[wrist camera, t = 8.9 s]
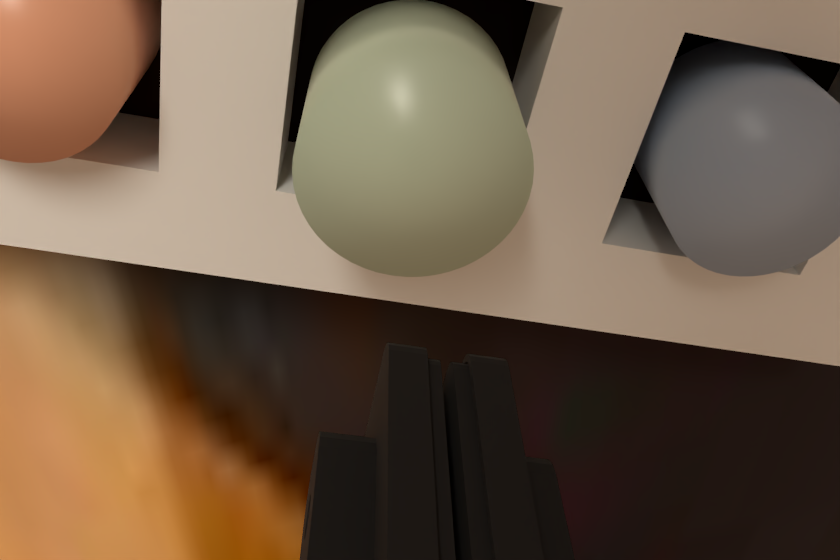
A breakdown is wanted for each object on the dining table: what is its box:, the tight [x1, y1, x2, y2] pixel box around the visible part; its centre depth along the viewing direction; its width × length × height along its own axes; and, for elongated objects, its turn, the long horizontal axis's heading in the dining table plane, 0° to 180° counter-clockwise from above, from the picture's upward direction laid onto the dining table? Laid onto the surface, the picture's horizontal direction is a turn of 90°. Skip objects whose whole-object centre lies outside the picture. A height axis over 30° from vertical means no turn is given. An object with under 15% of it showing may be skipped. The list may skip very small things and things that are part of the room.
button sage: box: [292, 0, 534, 277], centre depth 18 cm, size 5×5×4 cm
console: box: [0, 0, 840, 366], centre depth 21 cm, size 12×30×3 cm, turn 79°
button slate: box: [634, 40, 840, 277], centre depth 21 cm, size 5×5×4 cm
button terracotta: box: [0, 0, 162, 163], centre depth 19 cm, size 5×5×4 cm
